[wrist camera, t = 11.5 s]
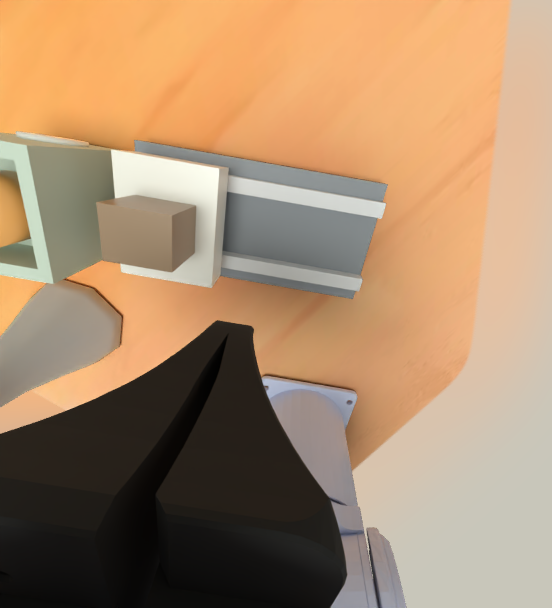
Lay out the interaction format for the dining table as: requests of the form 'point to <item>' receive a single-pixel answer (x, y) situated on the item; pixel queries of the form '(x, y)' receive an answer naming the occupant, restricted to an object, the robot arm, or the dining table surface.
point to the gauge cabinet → (56, 204)
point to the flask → (55, 337)
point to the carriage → (165, 218)
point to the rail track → (291, 222)
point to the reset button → (12, 210)
